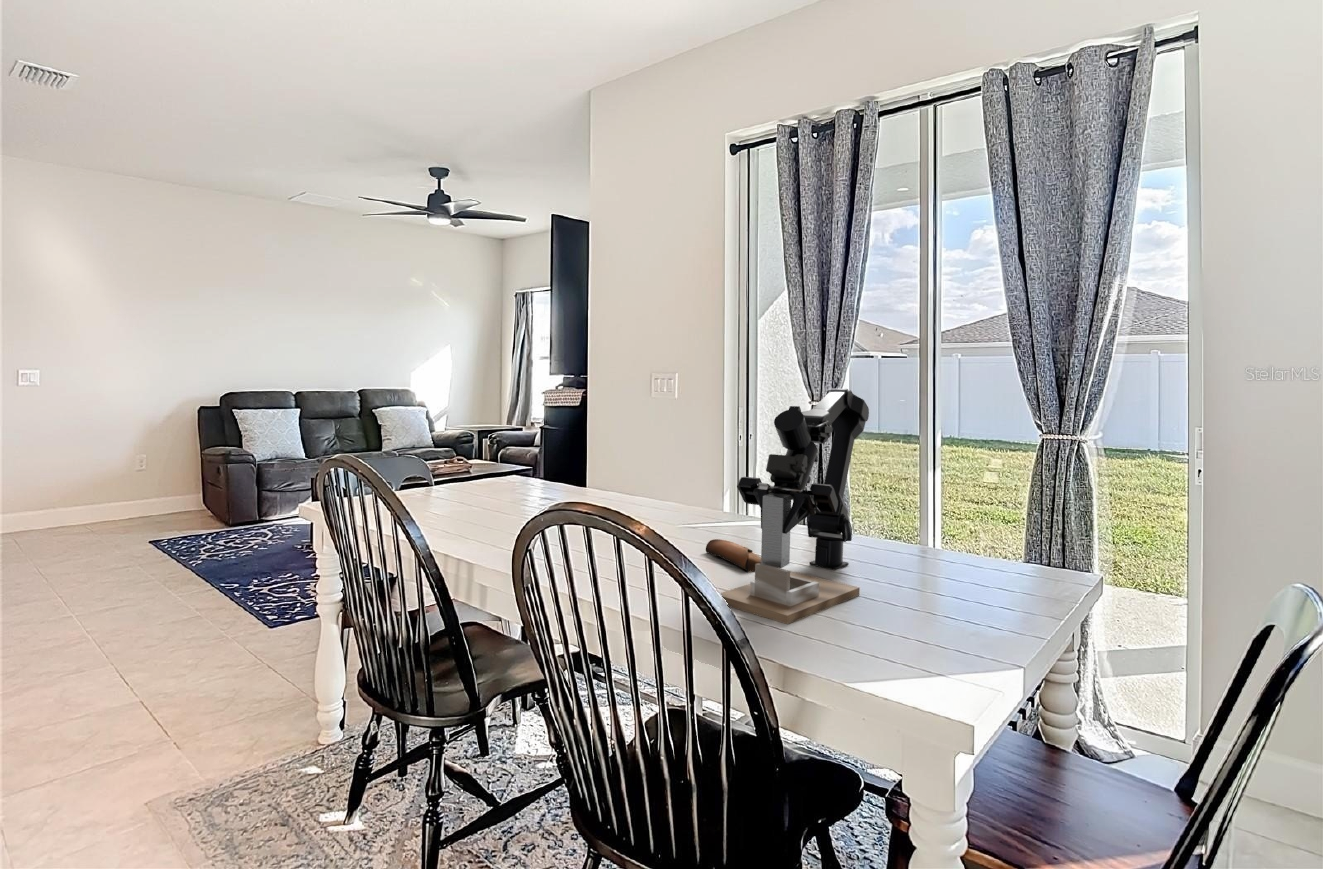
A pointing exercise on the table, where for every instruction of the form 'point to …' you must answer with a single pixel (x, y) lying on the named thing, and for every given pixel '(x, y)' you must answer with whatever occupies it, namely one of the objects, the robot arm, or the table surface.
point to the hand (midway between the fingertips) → (773, 530)
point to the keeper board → (787, 594)
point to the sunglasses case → (734, 553)
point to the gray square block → (775, 530)
